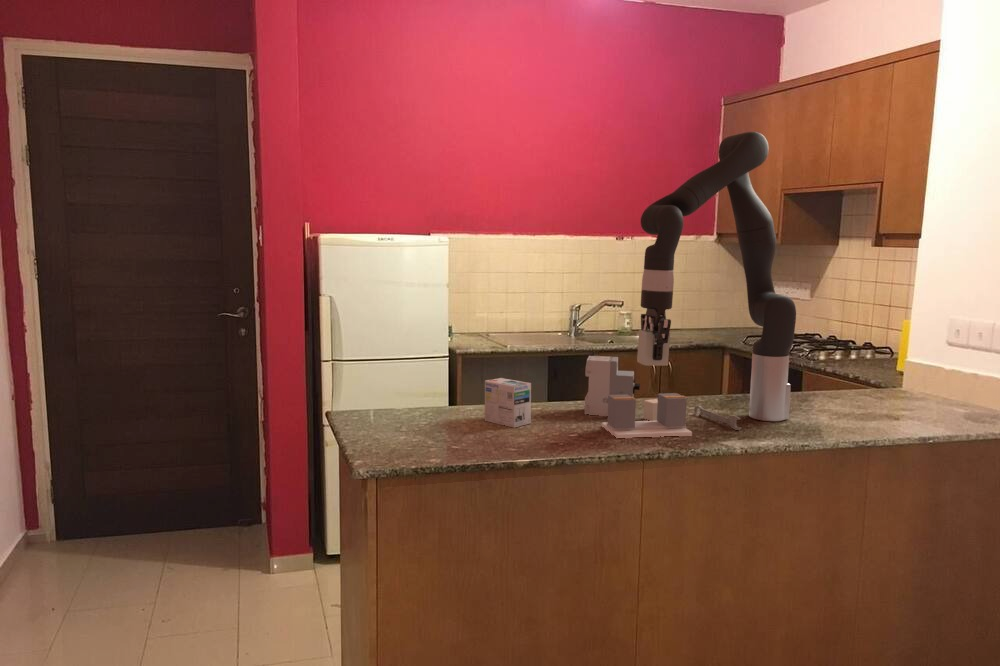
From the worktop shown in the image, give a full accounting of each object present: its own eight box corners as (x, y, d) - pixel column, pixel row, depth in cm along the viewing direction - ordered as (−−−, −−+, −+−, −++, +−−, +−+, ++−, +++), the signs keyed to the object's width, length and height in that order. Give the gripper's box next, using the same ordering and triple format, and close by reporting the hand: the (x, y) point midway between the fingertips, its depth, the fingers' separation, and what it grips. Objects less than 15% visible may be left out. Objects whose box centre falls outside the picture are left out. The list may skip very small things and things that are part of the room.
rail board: (672, 423, 197) (673, 389, 196) (691, 436, 185) (693, 400, 184) (601, 426, 194) (602, 391, 192) (616, 438, 182) (618, 402, 181)
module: (660, 362, 190) (662, 329, 189) (667, 365, 185) (670, 332, 184) (637, 361, 189) (639, 329, 188) (644, 365, 184) (646, 331, 183)
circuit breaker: (638, 418, 202) (640, 362, 200) (584, 415, 205) (585, 360, 203) (638, 411, 210) (640, 358, 208) (586, 408, 213) (588, 355, 211)
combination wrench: (694, 403, 208) (738, 418, 189) (698, 402, 208) (742, 418, 189) (693, 416, 208) (737, 433, 189) (697, 416, 209) (742, 432, 190)
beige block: (655, 417, 204) (656, 399, 203) (665, 420, 200) (665, 402, 200) (643, 418, 202) (644, 400, 202) (652, 422, 199) (653, 403, 198)
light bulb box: (531, 423, 195) (532, 382, 194) (514, 428, 190) (514, 386, 189) (501, 416, 203) (501, 376, 201) (483, 421, 198) (483, 380, 196)
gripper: (684, 291, 178) (679, 363, 181) (660, 287, 192) (656, 353, 195) (653, 290, 177) (649, 363, 179) (632, 286, 191) (628, 353, 193)
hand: (652, 357), depth 187 cm, fingers closed on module, 5 cm apart
